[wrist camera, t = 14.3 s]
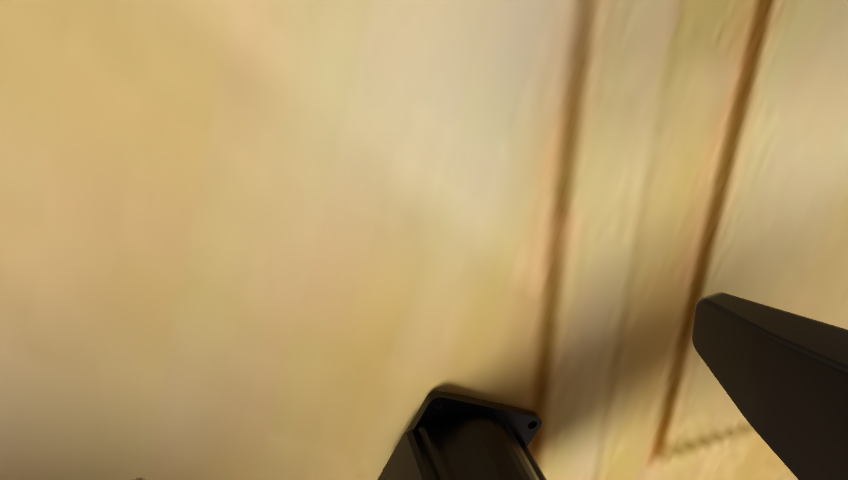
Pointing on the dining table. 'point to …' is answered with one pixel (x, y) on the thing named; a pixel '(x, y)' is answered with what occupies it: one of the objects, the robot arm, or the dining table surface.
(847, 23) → the dining table surface
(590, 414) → the dining table surface
